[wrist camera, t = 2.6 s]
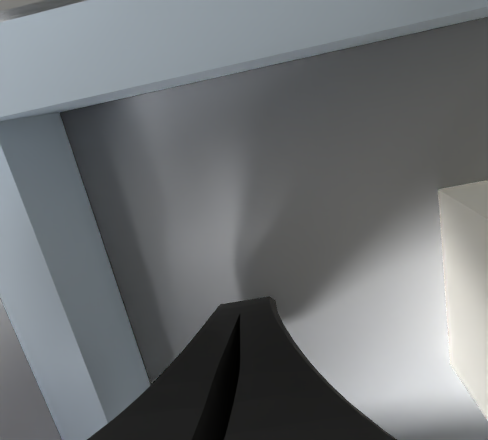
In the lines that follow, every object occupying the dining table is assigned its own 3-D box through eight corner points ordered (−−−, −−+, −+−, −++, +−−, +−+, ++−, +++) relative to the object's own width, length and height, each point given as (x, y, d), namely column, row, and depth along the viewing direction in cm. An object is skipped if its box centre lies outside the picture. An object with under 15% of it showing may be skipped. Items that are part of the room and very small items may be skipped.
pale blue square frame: (161, 525, 14) (128, 667, 10) (-9, 69, 9) (-160, 63, 6) (654, 471, 12) (803, 620, 9) (724, -107, 8) (1073, -248, 4)
